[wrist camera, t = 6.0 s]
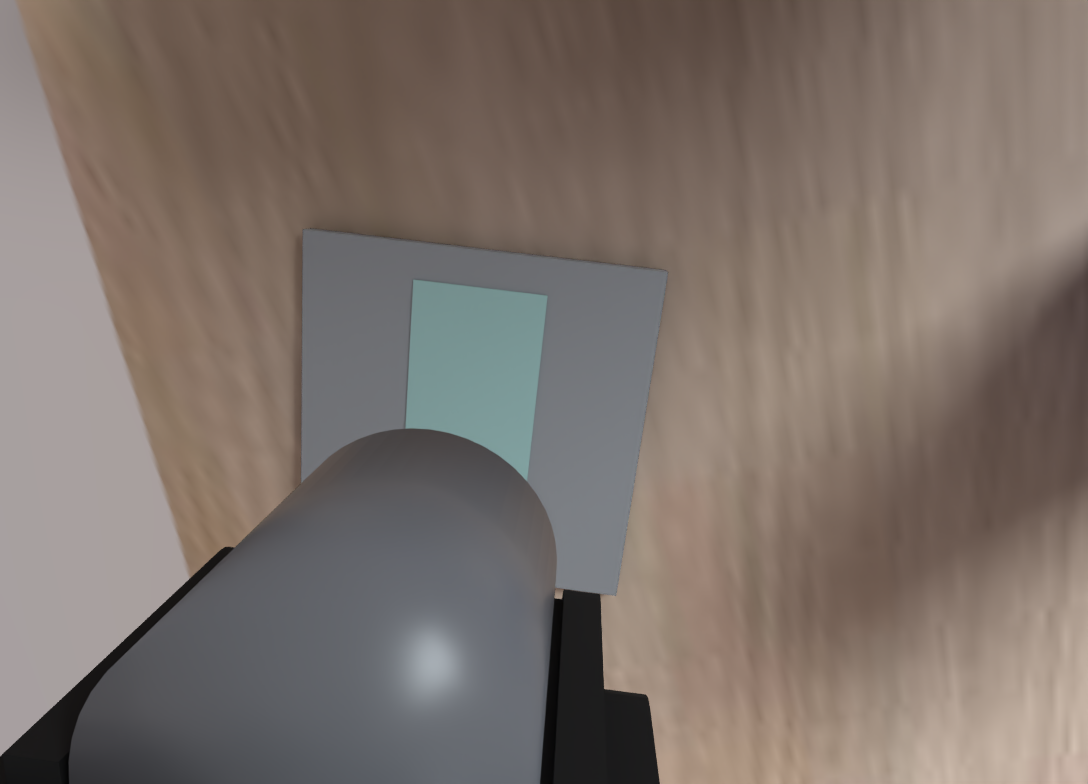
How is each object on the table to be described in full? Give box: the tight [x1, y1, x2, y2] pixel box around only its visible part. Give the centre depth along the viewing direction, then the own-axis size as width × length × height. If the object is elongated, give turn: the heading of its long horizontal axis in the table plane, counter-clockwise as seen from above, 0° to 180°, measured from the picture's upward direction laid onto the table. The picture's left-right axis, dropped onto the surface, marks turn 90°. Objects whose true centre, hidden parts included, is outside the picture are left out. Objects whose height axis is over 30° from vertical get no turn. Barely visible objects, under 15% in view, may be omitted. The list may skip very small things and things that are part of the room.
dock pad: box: [301, 228, 668, 596], centre depth 28 cm, size 14×14×1 cm
